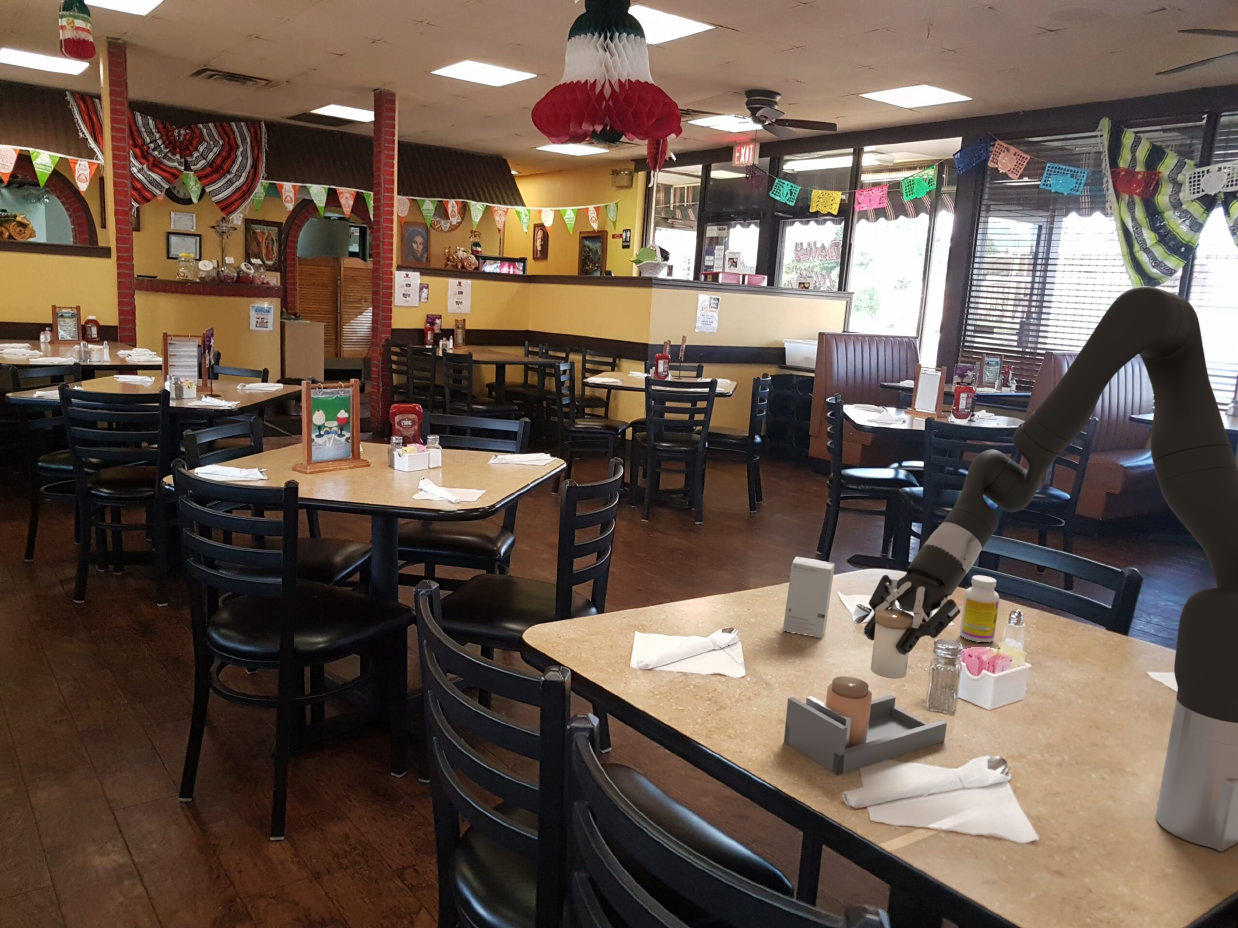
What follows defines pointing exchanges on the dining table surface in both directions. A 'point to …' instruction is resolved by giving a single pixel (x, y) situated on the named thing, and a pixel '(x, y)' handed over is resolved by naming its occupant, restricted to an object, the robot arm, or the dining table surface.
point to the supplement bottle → (980, 610)
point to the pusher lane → (885, 738)
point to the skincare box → (808, 596)
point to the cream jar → (890, 643)
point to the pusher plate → (831, 714)
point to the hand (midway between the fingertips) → (883, 643)
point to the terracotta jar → (852, 705)
